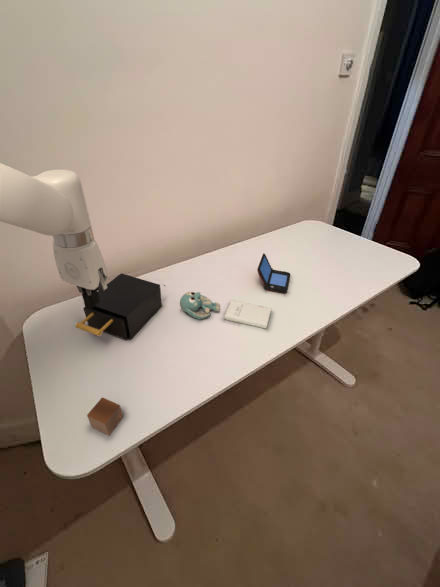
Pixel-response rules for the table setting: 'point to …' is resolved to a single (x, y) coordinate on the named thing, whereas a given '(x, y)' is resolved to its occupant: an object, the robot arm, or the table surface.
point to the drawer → (103, 323)
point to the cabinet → (131, 301)
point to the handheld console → (273, 277)
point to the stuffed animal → (197, 305)
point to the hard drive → (248, 314)
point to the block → (105, 416)
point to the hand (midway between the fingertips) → (92, 304)
